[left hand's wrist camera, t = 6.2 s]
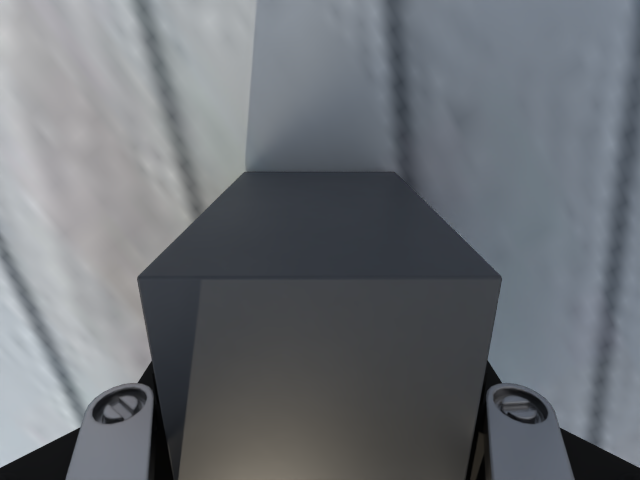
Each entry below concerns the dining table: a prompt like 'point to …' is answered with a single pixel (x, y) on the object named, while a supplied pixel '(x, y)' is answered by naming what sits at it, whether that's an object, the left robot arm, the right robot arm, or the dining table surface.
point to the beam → (319, 333)
